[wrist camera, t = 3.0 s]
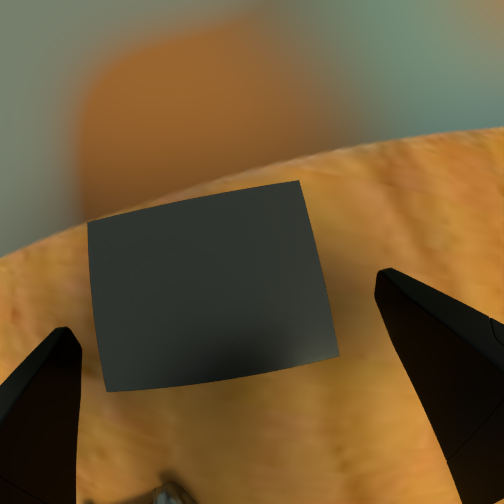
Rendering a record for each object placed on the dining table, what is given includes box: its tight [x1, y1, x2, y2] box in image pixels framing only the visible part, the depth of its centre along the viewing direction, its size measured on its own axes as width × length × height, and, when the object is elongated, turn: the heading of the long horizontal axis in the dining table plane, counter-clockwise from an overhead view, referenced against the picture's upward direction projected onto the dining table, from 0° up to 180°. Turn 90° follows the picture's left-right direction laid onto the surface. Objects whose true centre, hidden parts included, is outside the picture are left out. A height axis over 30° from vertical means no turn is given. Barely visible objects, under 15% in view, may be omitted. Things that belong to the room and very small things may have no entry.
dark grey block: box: [87, 180, 339, 392], centre depth 11 cm, size 4×4×11 cm
